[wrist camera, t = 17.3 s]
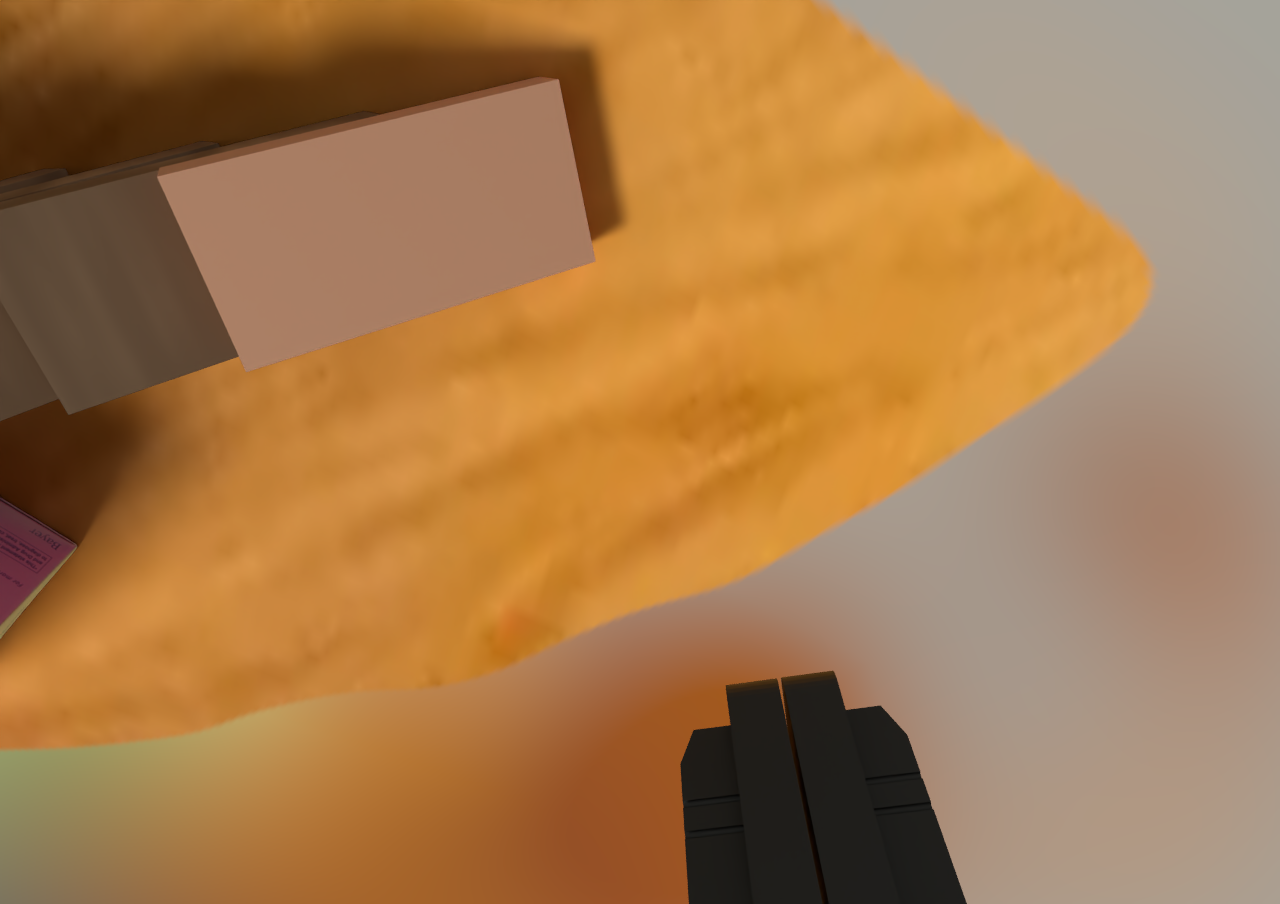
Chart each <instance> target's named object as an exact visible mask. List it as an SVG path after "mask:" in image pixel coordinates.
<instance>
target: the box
mask: <svg viewBox="0 0 1280 904" xmlns="http://www.w3.org/2000/svg"><path fill="white" fill-rule="evenodd" d="M76 548H77V545H76V544H75V543H74V542H72V541H71V540H69V539H68V538H66V537H64V536H63V535H61V534H59V533H58V532H56V531H54V530H53V529H51V528H50V527H48V526H47V525H45V524H43V523H42V522H40V521H39V520H37V519H35V518H34V517H32V516H31V515H29V514H27V513H26V512H24V511H22V510H21V509H19V508H17V507H16V506H14V505H12V504H11V503H9V502H7V501H6V500H4V499H3V498H1V497H0V639H1V638H2V636H3V635H4V634H5V633H6V631H7V630H8V629H9V628H10V627H11V625H12V624H13V623H14V622H15V621H16V619H17V618H18V617H19V616H20V615H21V613H22V612H23V611H24V610H25V609H26V607H27V606H28V605H29V604H30V603H31V602H32V600H33V599H34V598H35V597H36V596H37V594H38V593H39V592H40V591H41V590H42V589H43V587H44V586H45V585H46V584H47V583H48V582H49V580H50V579H51V578H52V577H53V576H54V575H55V573H56V572H57V571H58V570H59V569H60V568H61V567H62V565H63V564H64V563H65V562H66V561H67V560H68V558H69V557H70V556H71V555H72V554H73V553H74V551H75V550H76Z"/></svg>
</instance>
